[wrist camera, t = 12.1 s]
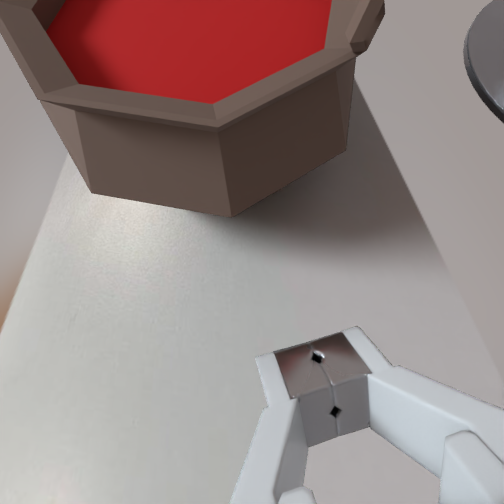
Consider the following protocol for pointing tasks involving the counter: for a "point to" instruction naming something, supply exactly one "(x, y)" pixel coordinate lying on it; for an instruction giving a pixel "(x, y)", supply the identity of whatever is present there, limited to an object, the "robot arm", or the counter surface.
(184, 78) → the octagonal pot
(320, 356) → the robot arm
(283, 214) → the counter surface
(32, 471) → the counter surface
